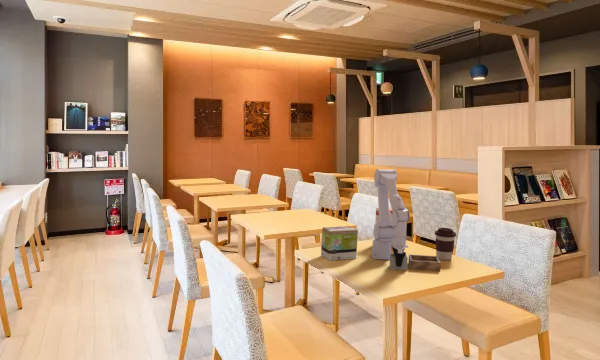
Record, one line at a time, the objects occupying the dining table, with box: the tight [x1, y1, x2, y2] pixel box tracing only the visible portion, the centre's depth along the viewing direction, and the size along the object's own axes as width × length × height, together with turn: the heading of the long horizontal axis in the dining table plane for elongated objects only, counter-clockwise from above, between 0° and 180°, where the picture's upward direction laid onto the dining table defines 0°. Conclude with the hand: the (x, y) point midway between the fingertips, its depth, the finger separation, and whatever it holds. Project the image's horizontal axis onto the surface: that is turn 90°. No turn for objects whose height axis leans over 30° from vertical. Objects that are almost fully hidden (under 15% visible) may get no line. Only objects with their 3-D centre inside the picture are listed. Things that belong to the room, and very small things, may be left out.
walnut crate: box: [407, 253, 441, 272], centre depth 193 cm, size 13×10×4 cm
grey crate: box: [389, 252, 409, 271], centre depth 190 cm, size 8×5×6 cm, turn 81°
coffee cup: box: [434, 227, 457, 261], centre depth 207 cm, size 10×10×15 cm
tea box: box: [320, 225, 359, 262], centre depth 205 cm, size 15×10×15 cm
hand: (398, 264), depth 190 cm, fingers closed on grey crate, 5 cm apart
